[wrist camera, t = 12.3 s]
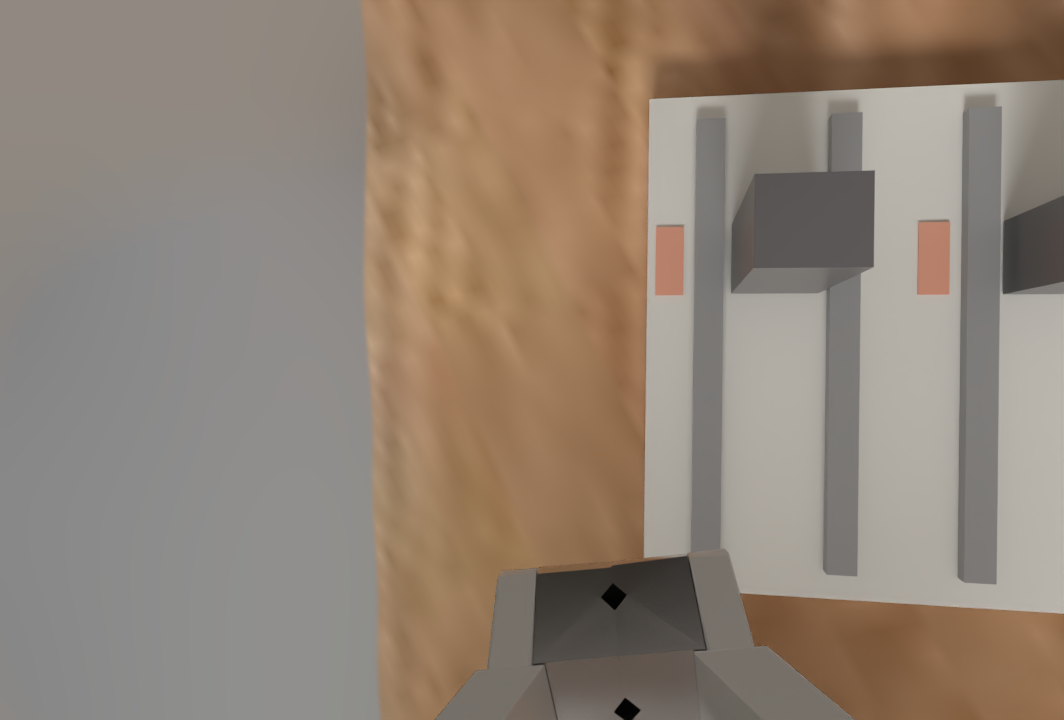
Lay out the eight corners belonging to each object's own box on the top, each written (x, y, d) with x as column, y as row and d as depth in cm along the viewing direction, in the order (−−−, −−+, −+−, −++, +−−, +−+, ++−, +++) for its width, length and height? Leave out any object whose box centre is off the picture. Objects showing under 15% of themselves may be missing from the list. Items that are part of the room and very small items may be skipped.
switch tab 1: (818, 293, 27) (873, 267, 20) (731, 293, 28) (753, 267, 20) (819, 222, 27) (875, 170, 20) (731, 224, 28) (754, 174, 20)
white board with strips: (1159, 603, 27) (1210, 628, 25) (644, 572, 30) (642, 591, 28) (1165, 94, 27) (1216, 66, 25) (650, 116, 30) (649, 93, 28)
